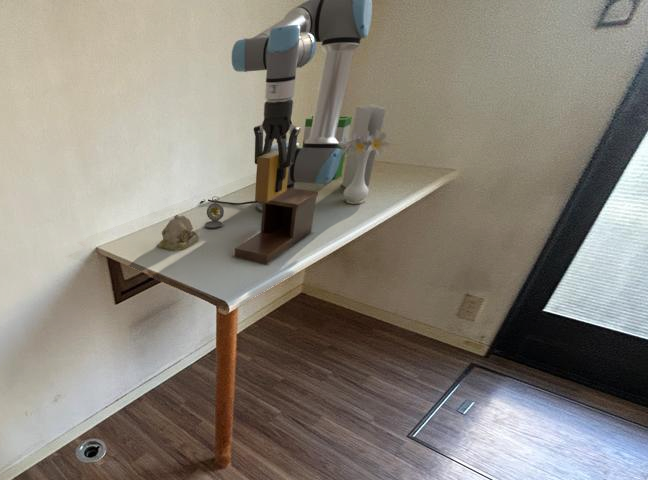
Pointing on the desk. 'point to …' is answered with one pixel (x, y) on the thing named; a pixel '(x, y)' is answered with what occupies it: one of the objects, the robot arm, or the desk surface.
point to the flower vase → (361, 162)
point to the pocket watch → (214, 210)
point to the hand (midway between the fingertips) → (271, 190)
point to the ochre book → (268, 176)
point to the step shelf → (280, 226)
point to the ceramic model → (178, 234)
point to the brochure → (363, 122)
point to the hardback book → (341, 131)
